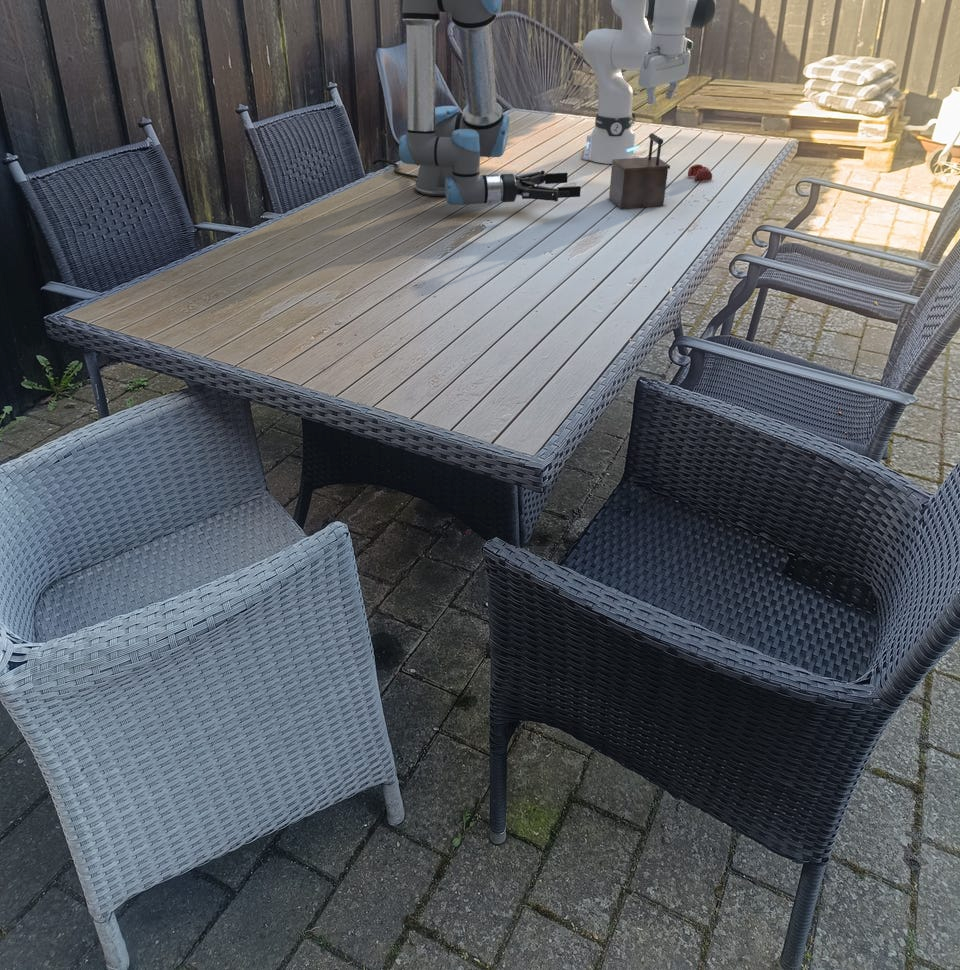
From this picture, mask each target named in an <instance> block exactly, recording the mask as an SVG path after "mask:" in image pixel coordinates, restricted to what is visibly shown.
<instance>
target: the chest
mask: <svg viewBox="0 0 960 970" xmlns="http://www.w3.org/2000/svg"><path fill="white" fill-rule="evenodd" d="M668 172H669V169H657V170H641V171H623V170H622V169H621V168H619V167H618V166H617V165H615V164H614V163H613V162H612V164H611V173H610V184H609V194H608V195H609V196H608V200H610V201H611V202H612V203H613V204H614V205H616V206H617V207H618V208H619V209H620V210H625V209H639V208H654V207H663V206H664V203H665V196H666V190H667V189H666V188H667V181H668Z"/></svg>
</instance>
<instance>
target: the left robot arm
mask: <svg viewBox="0 0 960 970" xmlns="http://www.w3.org/2000/svg"><path fill="white" fill-rule="evenodd" d="M502 6H503V0H402V11H401V12H402V14H401V15H402V18H401V19H402V22H403V24H405V26H406V113H407V114H406V122H407V124H406V128H407V129H406V130H407V134H403V135H401V137H400V139H399V142H398V144H399V145H398V156H399V159H400V161H401V162H402V163H403V164H405V165H415V166H419V168H418V172H417V175H416V174H412V173H406V172H402V171H399V169H400V165H399V164H397V163H396V162H394V161H392V160H389V159H386V158H377V159H374V160H373V161H372V165H376V164H377V163H379V162H383V163H387V164H389V165H392V166H394V167H395V168H394V170H393V171H394V173H395V174H396V175H398V176H401V177H406V178H411V179H416V180H415V192H417V193H418V194H420V195H424V196H430V197H445V199H446V203H447V204H449V205H451V206H466V205H467V206H469V205H478V204H479V205H480V204H488V205H490V206H491V205H493V204H494V203H495V204H496V203H501V202H502V203H514V202H515V201H516V198H517V197H518V196H521V199H522V200H539V201H552V202H558V201H559V199H564V198H565V199H566V198H580V197H581V189H582V188H581V185H574V186H573V185H572V186H558V187H557V188H554V187H548V186H541V185H542V184H545V185H551V184H567V183H568V176H569V175H568V172H556V173H555V172H551V173H545V170H540V171H535V172H531V173H526V174H522V175H514V173H502V174H498V173H497V174H496V173H493V174H481V170H480V169H481V168H480V167H481V165H480V164H481V160H480V159H481V158H482V157H483V158H488V159H489V158H500V157H502V156H503V155H504V154H505V151H506V147H507V143H508V138H509V131H510V116H509V115H508V114H504V111H503V107H502V105H501V104H500V103H498V102H497V88H496V74H495V73H496V72H495V71H496V70H495V58H494V43H493V31H492V29H493V28H492V24H493V23H494V22H495V21H496V19H497V14H499V13H500V12H501V10H502ZM441 13H450V15H451V21H452V24H453V25H454V26H456V27H457V28H458V35H459V44H460V54H461V64H462V72H463V73H462V74H463V82H464V92H465V94H464V95H465V103H466V106H465V107H464V108H463V110H462V111H461V112H460V110H459V108H458V106H455V105H442V106H436V53H437V52H436V47H437V46H436V45H437V43H436V42H437V39H436V37H437V36H436V35H437V34H436V33H437V31H436V30H437V29H436V28H437V25H438V24H439V23H440V17H441V16H440V14H441Z"/></svg>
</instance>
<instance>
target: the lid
mask: <svg viewBox="0 0 960 970" xmlns="http://www.w3.org/2000/svg"><path fill="white" fill-rule="evenodd" d="M648 139H649V149H648V156H646V157H645V156H643V157H638V158H627V159H613V160H612V162H613V163H614V164H615V165H617V166H618V167H619V168H621V169H622V170H623V171H641V170H657V169H668V170H670V169H671V165H670V164H668V163H667V162H666V161H664V160H662V159H661V152H662V151H661V150H662V145H663V143H664V139H662V138H661V137H660V136H658V135H656V134H655V133H652V132H651V133H649V135H648ZM654 143H656V144H657V151H656V156H653V146H654Z"/></svg>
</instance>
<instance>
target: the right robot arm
mask: <svg viewBox="0 0 960 970" xmlns="http://www.w3.org/2000/svg"><path fill="white" fill-rule="evenodd" d="M716 1H717V0H611V1H610V4H611V5H610V6H611V8H612V11H613V12H614V13H615V14H616V15H617V16H618V17H619V18H620V20H621V29H613V28H597V29H592V30H590V31H589V32H588V33H587V34H586V35H585V36H584V39H583V42H582V47H581V48H582V49H581V50H582V51H581V52H582V57H583V59H584V61H585V62H586V63H587V64H588V65H589V66H590V68H591V69H592V71H593V73H594V76H595V80H596V83H597V90H598V94H597V96H598V99H597V100H598V101H597V113H596V114H595V119H594V120H595V121H594V125H595V126H594V128H593V130H592V132H591V133H590V135H589V134H588V135H586V144H587V145H586V146H584V152H583V155H582V160H585V161H591V162H595V163H599V164H604V165H605V164H607V165H612V160H613V159H627V158H639V155H638V154H637V153H635V150H637V149H639V148H640V146H639V145H636V146H635V139H636V137H635V136H636V133H635V132H634V131H633V129H632V128H631V127H632V125H633V124H632V123H634V122H635V121H636V119H637V118H636V117H637V116H636V113H632V108H633V100H634V99H633V98H634V90H633V87H632V86H631V84H630V83H629V82H627V81H626V80H625V78H624V77H623V74H622V70H623V71H631V72H637V71H639V73H638V79H637V80H638V81H637V84H638V87H639V88H642V89H643V88H644V89H645V91H646V95H647V100H646V101H647V102H646V103H647V104H648V105H654V104H656V102H657V96H655V91H656V89H657V88H656V87H659V86H662V85H666V84H669V86H668V89H667V90H666V91H665V98H666V99H669V100H672V99H674V98H675V93H676V90H677V88H678V85H679V81H681V80H685V79H686V78H687V76H688V74H689V70H690V66H691V65H690V64H691V57H692V55H691V54H692V52H691V51H692V50H693V47H694V42H693V41H692V40H690V39H689V38H687V37H686V28H690V29H700V30H701V29H703V28H704V27H706V26H707V25H709V23H710V22H711V21H713V19H714V16H715V13H716V6H717V2H716ZM649 25H651V26H653V27H652V30H651V28H650V27H649Z"/></svg>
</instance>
